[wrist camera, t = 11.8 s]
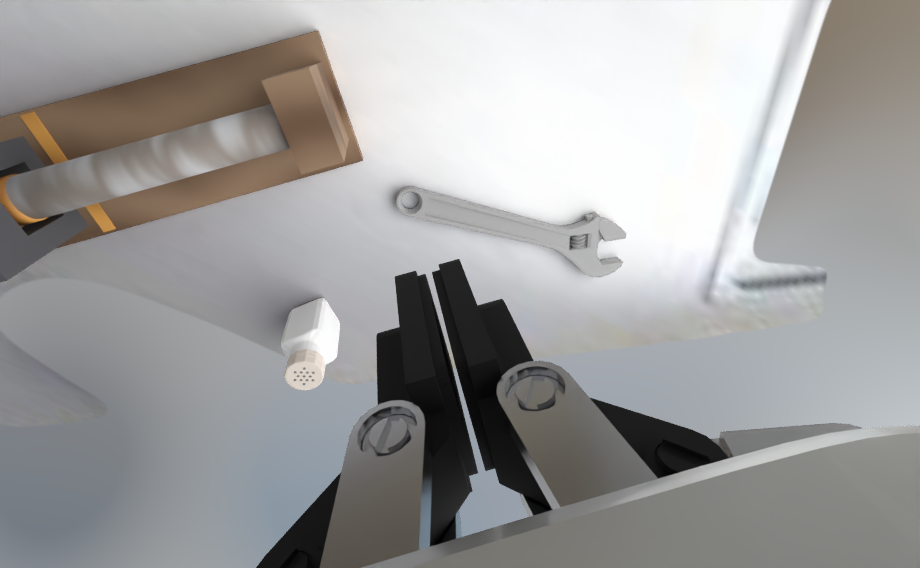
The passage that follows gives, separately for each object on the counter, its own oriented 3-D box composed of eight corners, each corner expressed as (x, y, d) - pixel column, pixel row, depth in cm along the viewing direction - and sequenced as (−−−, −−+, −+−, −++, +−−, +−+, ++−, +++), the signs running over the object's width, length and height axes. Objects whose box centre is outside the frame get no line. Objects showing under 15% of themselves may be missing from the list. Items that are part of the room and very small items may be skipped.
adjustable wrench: (391, 207, 42) (392, 213, 41) (413, 142, 40) (415, 146, 38) (602, 275, 50) (610, 283, 49) (632, 225, 48) (641, 231, 46)
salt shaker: (324, 293, 45) (313, 350, 36) (342, 323, 47) (336, 383, 38) (288, 308, 45) (269, 368, 36) (308, 337, 47) (294, 400, 39)
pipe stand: (-100, 145, 33) (-246, 178, 25) (318, 31, 34) (303, 28, 26) (2, 260, 38) (-93, 318, 30) (362, 158, 39) (361, 187, 31)
